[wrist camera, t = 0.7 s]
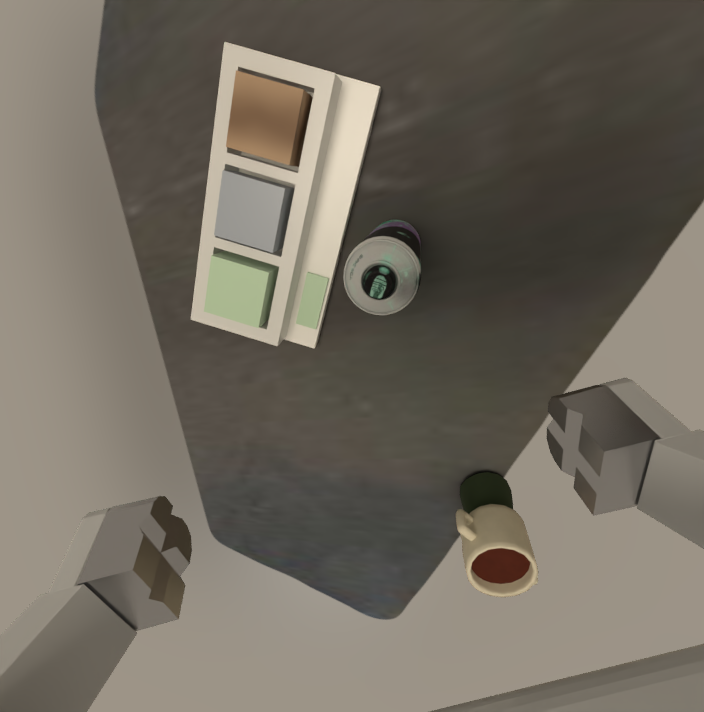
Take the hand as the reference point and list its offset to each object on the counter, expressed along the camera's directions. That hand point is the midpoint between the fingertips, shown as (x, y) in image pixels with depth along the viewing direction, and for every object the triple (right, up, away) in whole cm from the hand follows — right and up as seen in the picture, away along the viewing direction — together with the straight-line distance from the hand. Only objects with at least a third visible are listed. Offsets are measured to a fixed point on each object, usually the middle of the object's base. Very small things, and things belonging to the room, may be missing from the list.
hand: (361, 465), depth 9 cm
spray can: (+4, +14, +37) cm, 40 cm away
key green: (-12, +10, +38) cm, 41 cm away
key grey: (-9, +17, +35) cm, 40 cm away
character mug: (+17, -15, +47) cm, 52 cm away
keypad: (-8, +18, +37) cm, 42 cm away
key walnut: (-7, +24, +32) cm, 40 cm away
